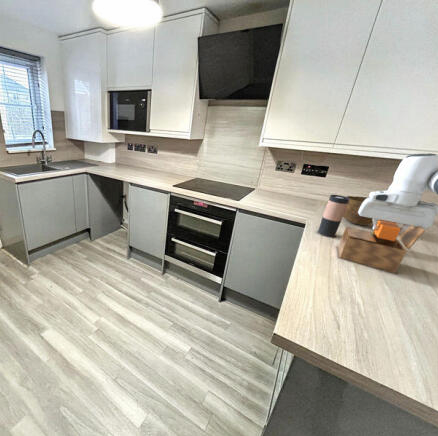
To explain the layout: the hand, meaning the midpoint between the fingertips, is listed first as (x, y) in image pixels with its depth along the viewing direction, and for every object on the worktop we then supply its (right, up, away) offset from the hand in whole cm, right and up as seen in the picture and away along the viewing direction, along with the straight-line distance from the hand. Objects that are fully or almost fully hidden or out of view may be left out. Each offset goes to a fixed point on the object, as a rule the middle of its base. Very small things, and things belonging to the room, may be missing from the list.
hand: (385, 232), depth 92 cm
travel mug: (-1, -3, +29) cm, 29 cm away
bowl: (+31, +2, +48) cm, 57 cm away
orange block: (0, -2, +1) cm, 2 cm away
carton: (-3, -12, +6) cm, 13 cm away
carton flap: (+5, -1, -4) cm, 7 cm away
